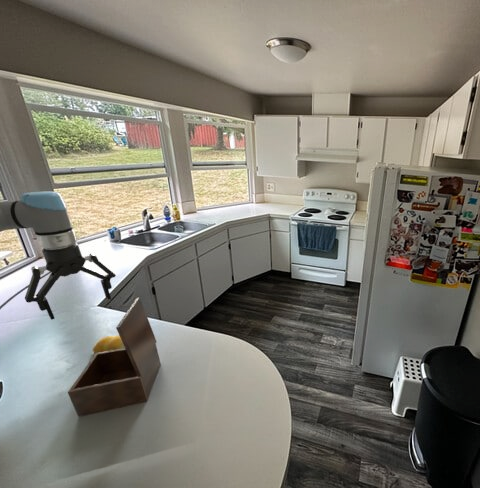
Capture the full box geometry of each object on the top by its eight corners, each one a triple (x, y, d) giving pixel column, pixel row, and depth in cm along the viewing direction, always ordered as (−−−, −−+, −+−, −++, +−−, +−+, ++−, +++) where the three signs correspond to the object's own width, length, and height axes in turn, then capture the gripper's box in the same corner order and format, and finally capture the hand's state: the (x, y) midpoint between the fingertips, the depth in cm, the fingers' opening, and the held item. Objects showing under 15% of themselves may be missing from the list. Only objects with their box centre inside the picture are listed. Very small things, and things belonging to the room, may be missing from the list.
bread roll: (119, 355, 85) (116, 346, 84) (89, 357, 84) (86, 348, 82) (133, 338, 93) (130, 329, 91) (105, 340, 91) (102, 331, 90)
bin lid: (115, 327, 61) (119, 326, 61) (136, 298, 73) (139, 297, 73) (138, 377, 67) (141, 376, 67) (153, 342, 79) (156, 341, 79)
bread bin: (78, 416, 66) (67, 392, 62) (103, 375, 78) (95, 353, 75) (147, 401, 70) (140, 378, 67) (160, 364, 82) (155, 343, 79)
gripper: (-8, 262, 61) (25, 332, 69) (116, 237, 80) (132, 294, 88) (-11, 255, 65) (21, 322, 73) (108, 233, 84) (124, 287, 92)
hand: (82, 307), depth 80 cm, fingers open, 13 cm apart
